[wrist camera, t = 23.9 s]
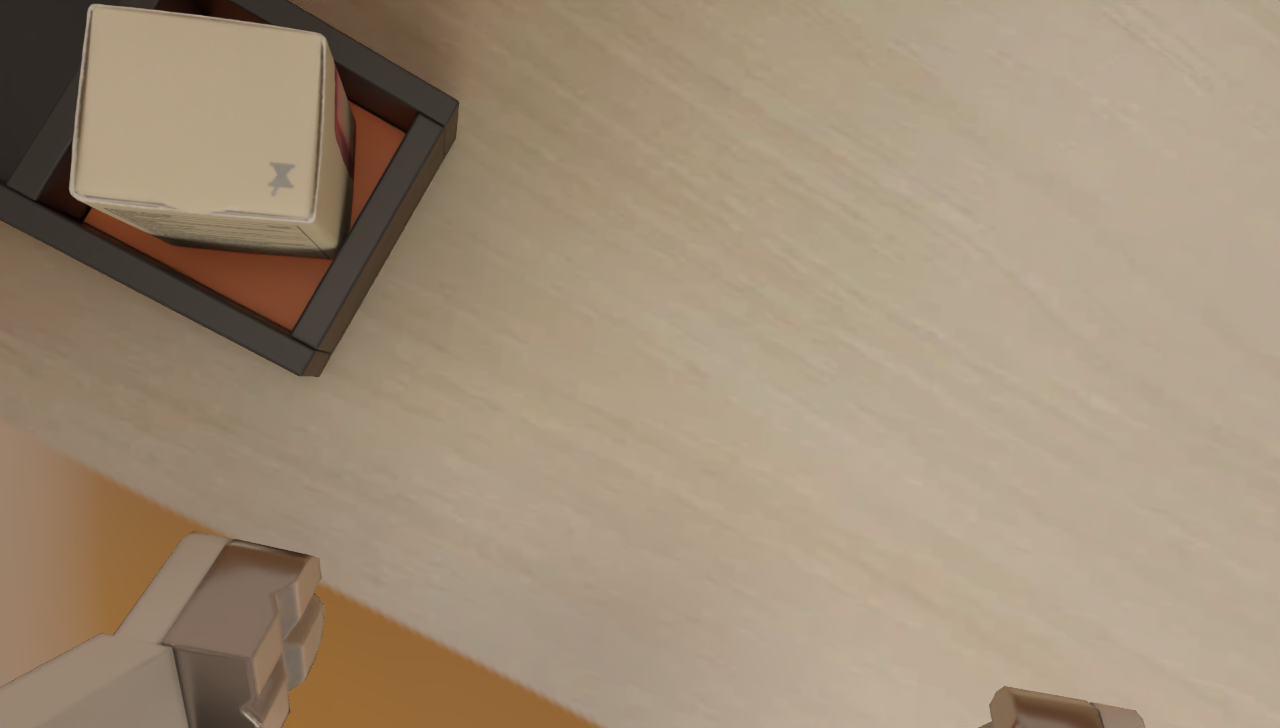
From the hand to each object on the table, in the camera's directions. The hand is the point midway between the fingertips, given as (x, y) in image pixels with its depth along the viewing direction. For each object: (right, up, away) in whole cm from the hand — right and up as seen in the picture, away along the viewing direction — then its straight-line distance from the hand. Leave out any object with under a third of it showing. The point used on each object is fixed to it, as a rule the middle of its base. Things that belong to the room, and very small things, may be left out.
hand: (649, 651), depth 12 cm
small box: (-11, +9, +17) cm, 22 cm away
